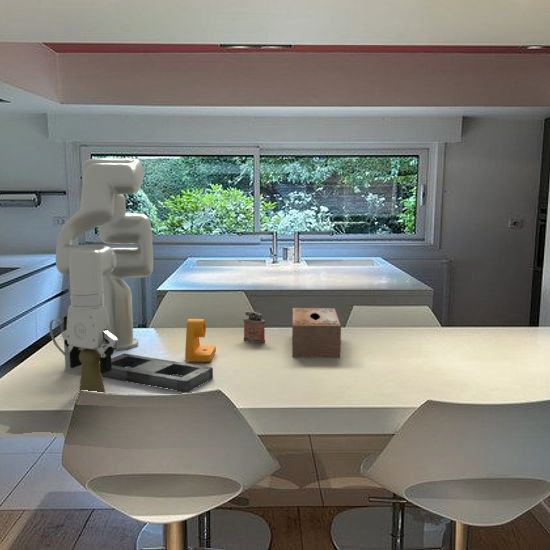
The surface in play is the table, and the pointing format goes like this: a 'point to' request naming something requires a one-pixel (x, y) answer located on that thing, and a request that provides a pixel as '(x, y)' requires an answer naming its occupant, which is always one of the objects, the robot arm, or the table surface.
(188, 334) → the bracket
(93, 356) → the olive tall tapered piece
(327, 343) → the tissue box cover
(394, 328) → the table surface
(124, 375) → the tray
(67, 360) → the grey mug
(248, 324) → the lighter
